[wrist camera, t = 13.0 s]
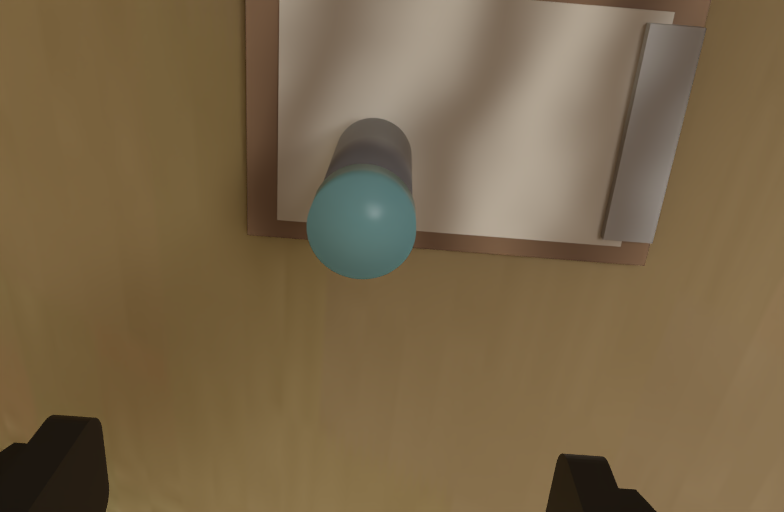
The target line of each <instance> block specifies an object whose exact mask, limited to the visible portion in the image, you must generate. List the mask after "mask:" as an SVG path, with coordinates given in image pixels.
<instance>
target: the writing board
mask: <svg viewBox="0 0 784 512" xmlns="http://www.w3.org/2000/svg"><path fill="white" fill-rule="evenodd" d="M710 3H711V0H246V111H247V226H248V235H256V236H268V237H281V238H294V239H307V240H308V236H307V217H308V213H309V210H310V208H311V205H312V202H313V200H314V197H315V195H316V192H317V190H318V188H319V187H320V185H321V184H322V182H323V181H324V178H325V176H326V173H327V170H328V167H329V165H330V162H331V159H332V157H333V154H334V151H335V148H336V146H337V143H338V141H339V138H340V136H341V135H342V133H343V132H344V131H345V130H346V129H347V128H348V127H349V126H350V125H351V124H353V123H355V122H357V121H359V120H362V119H366V118H380V119H384V120H387V121H389V122H391V123H393V124H395V125H396V126H397V127H399V128H400V129H401V130H402V131H403V133H404V134H405V135H406V137H407V139H408V141H409V143H410V147H411V153H412V196H413V199H414V203H415V210H416V237H415V242H414V245H413V248H423V249H436V250H448V251H461V252H474V253H487V254H500V255H513V256H526V257H538V258H551V259H564V260H577V261H590V262H603V263H616V264H628V265H641V266H645V263H646V259H647V255H648V251H649V247H650V243H653V239H654V235H655V231H656V227H657V223H658V219H659V215H660V211H661V207H662V203H663V199H664V195H665V191H666V187H667V183H668V179H669V175H670V171H671V167H672V163H673V159H674V155H675V151H676V147H677V143H678V139H679V135H680V131H681V127H682V124H683V120H684V116H685V112H686V108H687V104H688V100H689V96H690V92H691V88H692V84H693V80H694V76H695V72H696V68H697V64H698V60H699V56H700V52H701V48H702V44H703V40H704V36H705V32H706V28H704V27H705V23H706V19H707V15H708V11H709V7H710Z"/></svg>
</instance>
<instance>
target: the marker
mask: <svg viewBox="0 0 784 512" xmlns="http://www.w3.org/2000/svg"><path fill="white" fill-rule="evenodd" d="M307 236H308V240H309V243H310V246H311V248H312V250H313V252H314V253H315V255H316V256H317V258H318V259H319V260H320V261H321V262H322V263H323V264H324V265H325V266H326V267H328V268H329V269H331V270H332V271H334V272H336V273H338V274H340V275H343V276H345V277H349V278H355V279H371V278H376V277H380V276H383V275H386V274H388V273H390V272H391V271H393V270H394V269H396V268H397V267H398V266H400V265H401V264H402V263H403V262H404V261H405V259H406V258H407V257H408V255H409V254H410V252H411V250H412V248H413V245H414V242H415V237H416V210H415V203H414V199H413V196H412V153H411V147H410V143H409V141H408V139H407V137H406V135H405V134H404V133H403V131H402V130H401V129H400V128H399V127H397V126H396V125H395V124H393V123H391V122H389V121H387V120H384V119H380V118H366V119H362V120H359V121H357V122H355V123H353V124H351V125H350V126H349V127H348V128H347V129H346V130H345V131H344V132H343V133H342V135H341V136H340V138H339V141H338V143H337V146H336V148H335V151H334V154H333V157H332V159H331V162H330V165H329V167H328V170H327V173H326V176H325V178H324V181H323V182H322V184H321V185H320V187H319V188H318V190H317V192H316V195H315V197H314V200H313V202H312V205H311V208H310V210H309V213H308V217H307Z"/></svg>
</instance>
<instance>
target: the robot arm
mask: <svg viewBox="0 0 784 512" xmlns="http://www.w3.org/2000/svg"><path fill="white" fill-rule="evenodd" d="M108 497H109V482H108V474H107V465H106V457H105V449H104V440H103V432H102V426H101V422H100V421H99V419H97V418H91V417H77V416H64V415H52V416H50V417H48V418H47V419H46V420H45V422H44V423H43V424H42V425H41V427H40V428H39V429H38V431H37V432H36V433H35V435H34V436H33V437H32V438H31V440H30V441H29V442H28V444H25V443H13V444H12V445H10V446H9V447H7V448H6V449H4V450H3V451H1V452H0V512H106V508H107V503H108ZM546 512H656V511H655V510H654V509H653V508H652V506H651V505H650V504H649V503H648V502H647V501H646V500H645V499H644V498H643V497H642V496H641V495H640V494H639V493H638V492H637V491H636V490H634V489H620V488H618V486H617V484H616V481H615V478H614V476H613V473H612V471H611V468H610V466H609V463H608V461H607V460H606V458H604V457H601V456H588V455H574V454H560V455H559V457H558V460H557V463H556V467H555V472H554V476H553V481H552V485H551V490H550V494H549V499H548V504H547V508H546Z"/></svg>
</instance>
